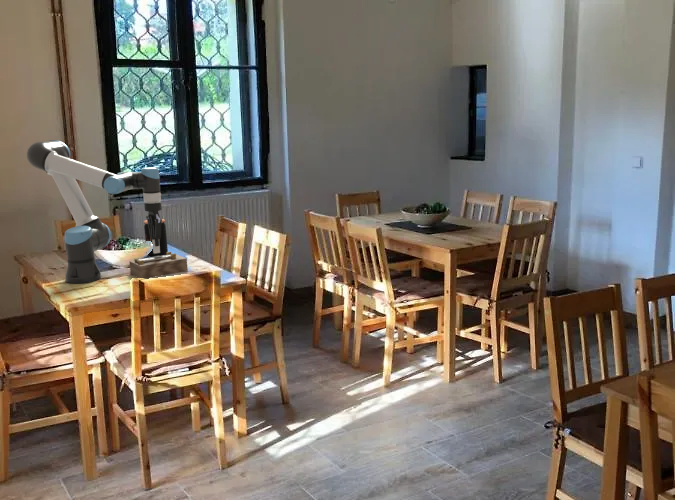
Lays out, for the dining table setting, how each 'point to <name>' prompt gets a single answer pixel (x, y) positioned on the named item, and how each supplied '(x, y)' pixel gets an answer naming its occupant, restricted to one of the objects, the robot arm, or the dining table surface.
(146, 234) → the coffee jar
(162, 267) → the walnut box
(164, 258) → the strap
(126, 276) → the dining table surface
